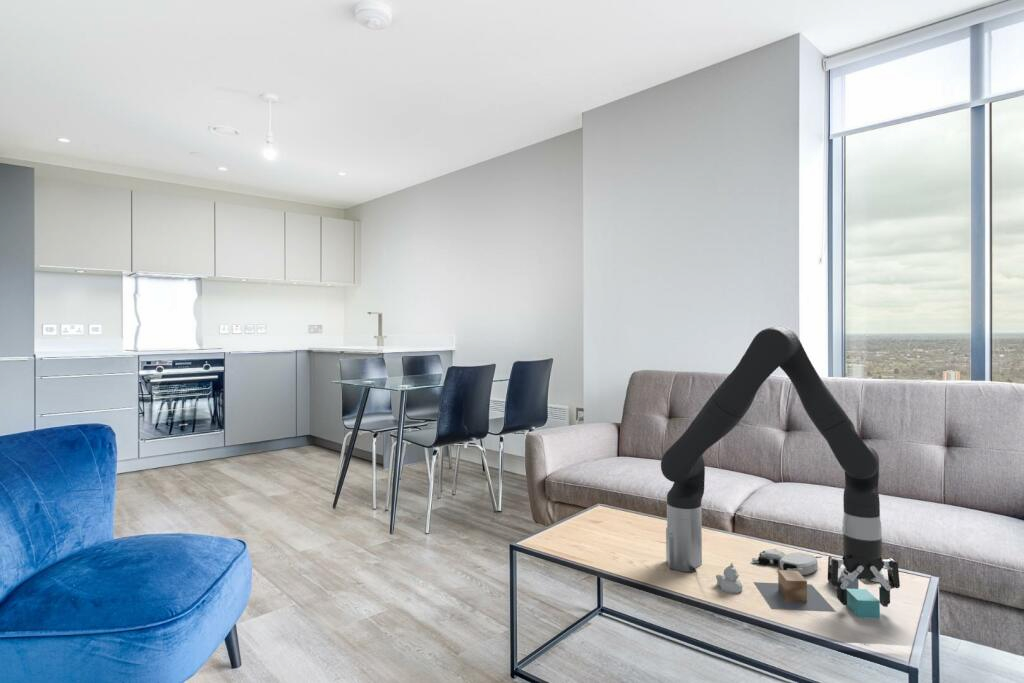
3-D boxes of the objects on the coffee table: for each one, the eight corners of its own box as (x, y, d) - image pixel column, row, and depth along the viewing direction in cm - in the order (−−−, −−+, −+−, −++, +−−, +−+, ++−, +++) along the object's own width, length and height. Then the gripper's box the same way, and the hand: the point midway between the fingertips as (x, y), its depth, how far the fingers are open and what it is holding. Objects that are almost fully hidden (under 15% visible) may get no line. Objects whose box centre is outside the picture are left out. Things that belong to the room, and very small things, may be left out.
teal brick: (858, 622, 125) (858, 600, 125) (845, 609, 131) (845, 588, 131) (879, 623, 125) (879, 601, 125) (866, 610, 131) (866, 589, 131)
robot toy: (749, 570, 156) (805, 584, 144) (748, 554, 156) (804, 566, 144) (770, 559, 163) (825, 571, 152) (769, 543, 164) (824, 554, 152)
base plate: (771, 613, 130) (771, 608, 130) (753, 586, 143) (753, 582, 143) (836, 616, 128) (836, 611, 128) (811, 589, 142) (811, 584, 142)
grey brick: (838, 598, 137) (838, 577, 137) (828, 587, 143) (828, 567, 143) (858, 598, 136) (858, 578, 136) (847, 587, 142) (846, 568, 142)
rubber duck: (736, 601, 136) (736, 568, 136) (711, 592, 141) (710, 560, 141) (746, 593, 140) (746, 561, 140) (721, 585, 145) (721, 554, 145)
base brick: (787, 601, 133) (786, 580, 133) (778, 590, 139) (778, 569, 139) (807, 602, 132) (806, 581, 132) (797, 590, 138) (797, 570, 138)
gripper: (835, 538, 125) (837, 611, 125) (905, 539, 123) (906, 613, 123) (821, 527, 132) (823, 595, 132) (887, 528, 130) (888, 598, 130)
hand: (863, 604), depth 128 cm, fingers open, 8 cm apart
